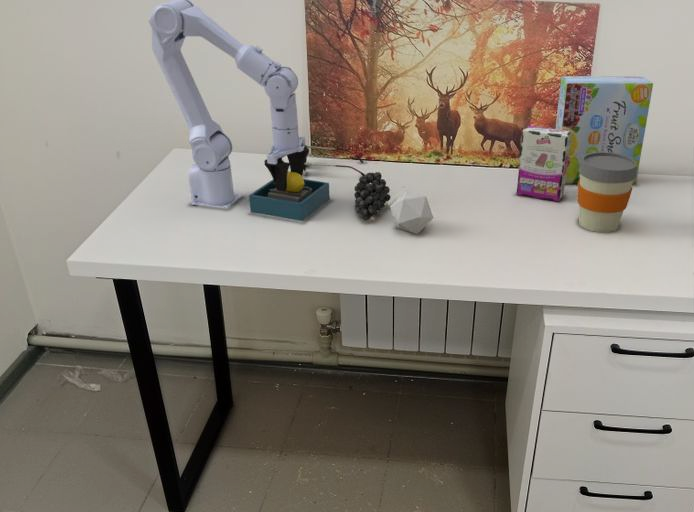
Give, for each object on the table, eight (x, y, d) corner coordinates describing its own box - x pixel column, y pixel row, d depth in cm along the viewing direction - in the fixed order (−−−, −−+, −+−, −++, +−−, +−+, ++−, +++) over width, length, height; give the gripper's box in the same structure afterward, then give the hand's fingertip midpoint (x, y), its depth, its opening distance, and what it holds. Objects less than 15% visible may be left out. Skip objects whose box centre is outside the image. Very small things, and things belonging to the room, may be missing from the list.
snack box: (627, 173, 198) (646, 75, 184) (636, 185, 191) (656, 83, 176) (548, 172, 197) (560, 73, 183) (554, 184, 190) (567, 82, 176)
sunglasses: (304, 161, 200) (304, 143, 197) (362, 164, 202) (363, 146, 199) (303, 179, 188) (303, 160, 186) (365, 182, 191) (366, 163, 188)
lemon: (270, 192, 170) (268, 174, 167) (280, 184, 174) (277, 166, 171) (300, 197, 168) (298, 179, 165) (309, 189, 172) (307, 170, 169)
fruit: (370, 188, 160) (386, 164, 172) (336, 196, 163) (354, 171, 175) (382, 223, 164) (397, 197, 176) (349, 231, 167) (366, 204, 179)
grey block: (268, 207, 171) (267, 191, 169) (283, 197, 177) (281, 181, 174) (299, 213, 169) (298, 196, 167) (312, 202, 174) (311, 185, 172)
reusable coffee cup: (591, 209, 177) (601, 148, 168) (636, 225, 169) (649, 162, 161) (560, 223, 169) (569, 160, 161) (606, 240, 162) (618, 175, 153)
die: (439, 231, 165) (429, 188, 166) (429, 226, 157) (419, 181, 157) (404, 241, 168) (395, 199, 168) (392, 237, 159) (382, 192, 159)
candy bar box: (563, 195, 184) (572, 130, 174) (559, 202, 180) (568, 136, 171) (520, 188, 187) (527, 124, 178) (515, 195, 183) (522, 129, 174)
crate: (250, 214, 169) (248, 195, 167) (280, 192, 181) (279, 174, 178) (302, 223, 166) (301, 204, 163) (329, 200, 177) (329, 182, 174)
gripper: (285, 137, 156) (290, 198, 163) (315, 119, 167) (318, 176, 175) (256, 133, 158) (262, 193, 165) (288, 116, 169) (292, 172, 177)
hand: (289, 184), depth 170 cm, fingers open, 7 cm apart
